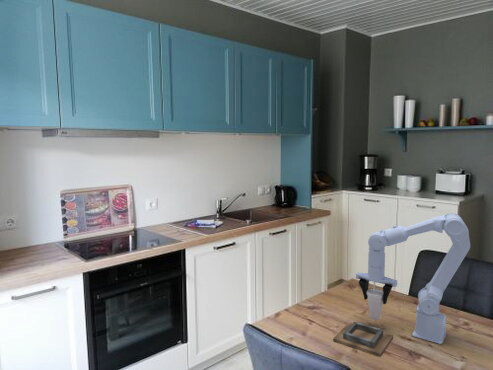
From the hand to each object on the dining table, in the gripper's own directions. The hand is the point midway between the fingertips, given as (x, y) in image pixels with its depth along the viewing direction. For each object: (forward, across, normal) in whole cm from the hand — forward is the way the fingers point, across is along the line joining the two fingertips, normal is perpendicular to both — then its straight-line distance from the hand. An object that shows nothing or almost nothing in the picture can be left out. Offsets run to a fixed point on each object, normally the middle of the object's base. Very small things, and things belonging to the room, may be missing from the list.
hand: (375, 301), depth 137 cm
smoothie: (+6, 0, 0) cm, 7 cm away
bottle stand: (+10, 0, +12) cm, 15 cm away
